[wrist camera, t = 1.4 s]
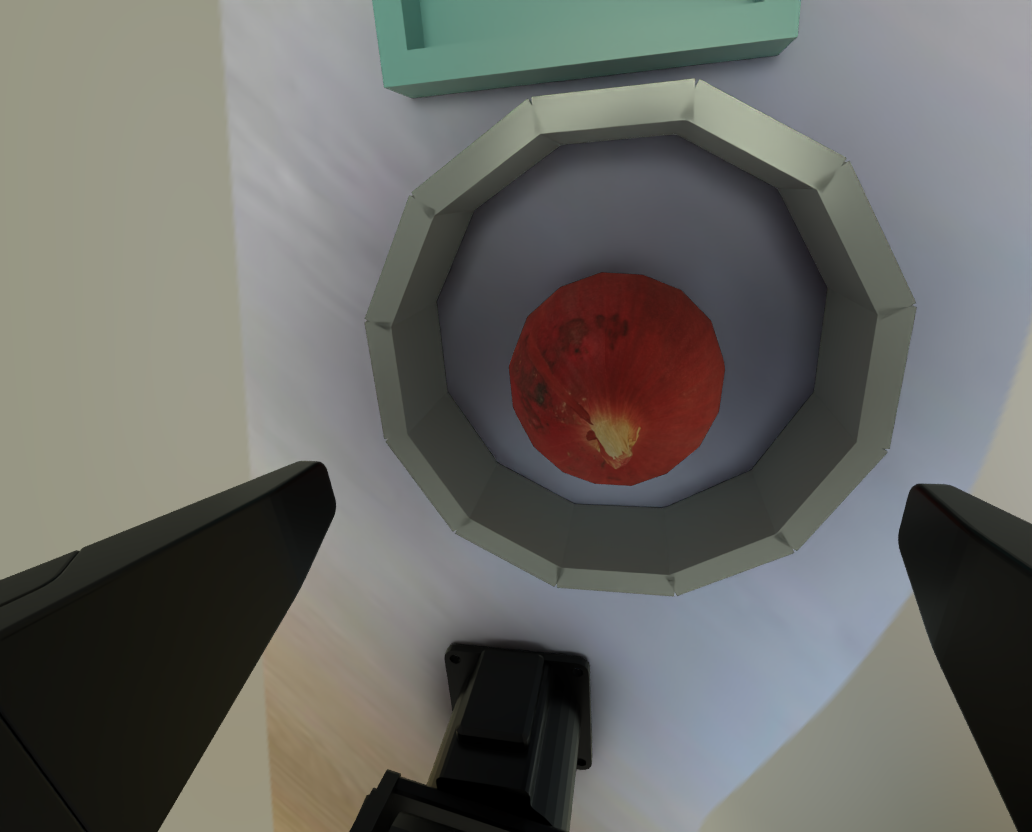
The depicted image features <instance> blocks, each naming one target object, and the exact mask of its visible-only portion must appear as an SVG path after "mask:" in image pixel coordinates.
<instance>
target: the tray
mask: <svg viewBox="0 0 1032 832" xmlns="http://www.w3.org/2000/svg"><path fill="white" fill-rule="evenodd" d="M372 2H373V9H374V17H375V24H376V32H377V39H378V46H379V54H380V61H381V68H382V76H383V83H384V88H387V89H389V90H392V91H394V92H397V93H400V94H402V95H405V96H407V97H410V98H418V97H427V96H435V95H444V94H452V93H461V92H469V91H478V90H487V89H495V88H504V87H512V86H521V85H529V84H538V83H546V82H555V81H563V80H572V79H580V78H589V77H598V76H606V75H615V74H623V73H632V72H640V71H649V70H657V69H666V68H674V67H683V66H691V65H700V64H708V63H717V62H726V61H734V60H743V59H751V58H760V57H768V56H777V55H779V54H780V53H781V52H782V51H783V50H784V49H785V48H786V47H787V46H788V45H789V44H790V43H791V42H793V41H794V40H795V39H796V38H797V37H798V26H799V16H800V6H801V0H372Z"/></svg>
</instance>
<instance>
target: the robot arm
mask: <svg viewBox="0 0 1032 832" xmlns="http://www.w3.org/2000/svg"><path fill="white" fill-rule="evenodd" d="M335 511H336V500H335V496H334V493H333V489H332V486H331V482H330V478H329V475H328V471H327V468H326V467H325V465H324V464H323V463H321V462H317V461H298V462H296V463H293V464H291V465H288V466H286V467H283V468H281V469H278V470H276V471H273V472H271V473H268V474H266V475H263V476H261V477H258V478H256V479H253V480H251V481H248V482H246V483H243V484H241V485H238V486H236V487H233V488H231V489H228V490H226V491H223V492H221V493H218V494H216V495H213V496H211V497H208V498H206V499H203V500H201V501H198V502H196V503H193V504H191V505H188V506H186V507H183V508H181V509H178V510H176V511H173V512H171V513H169V514H166V515H163V516H161V517H158V518H156V519H154V520H151V521H148V522H146V523H143V524H141V525H139V526H136V527H133V528H131V529H128V530H126V531H123V532H121V533H118V534H116V535H114V536H111V537H109V538H106V539H104V540H101V541H98V542H96V543H93V544H91V545H89V546H86V547H84V548H82V549H81V550H80V551H77V550H76V551H73V552H71V553H68V554H66V555H63V556H61V557H59V558H56V559H53V560H51V561H48V562H46V563H43V564H40V565H38V566H36V567H33V568H30V569H28V570H25V571H23V572H20V573H17V574H15V575H12V576H10V577H7V578H5V579H2V580H0V832H158V830H159V828H160V827H161V825H162V823H163V822H164V820H165V818H166V817H167V815H168V813H169V812H170V810H171V808H172V807H173V805H174V803H175V801H176V800H177V798H178V796H179V795H180V793H181V791H182V790H183V788H184V786H185V784H186V783H187V781H188V779H189V778H190V776H191V774H192V773H193V771H194V769H195V768H196V766H197V764H198V762H199V761H200V759H201V757H202V756H203V754H204V752H205V751H206V749H207V747H208V745H209V744H210V742H211V740H212V739H213V737H214V735H215V734H216V732H217V730H218V728H219V727H220V725H221V723H222V722H223V720H224V718H225V717H226V715H227V713H228V711H229V710H230V708H231V706H232V705H233V703H234V701H235V699H236V698H237V696H238V694H239V693H240V691H241V689H242V688H243V686H244V684H245V683H246V681H247V679H248V677H249V676H250V674H251V672H252V671H253V669H254V667H255V666H256V663H257V662H258V660H259V659H260V657H261V655H262V654H263V652H264V650H265V649H266V647H267V645H268V643H269V642H270V640H271V638H272V637H273V635H274V633H275V632H276V630H277V628H278V627H279V625H280V623H281V621H282V620H283V618H284V616H285V615H286V613H287V611H288V610H289V608H290V606H291V604H292V603H293V601H294V599H295V597H296V596H297V594H298V592H299V590H300V588H301V586H302V584H303V582H304V580H305V578H306V576H307V574H308V572H309V570H310V568H311V565H312V563H313V561H314V559H315V557H316V554H317V552H318V550H319V548H320V546H321V544H322V541H323V539H324V537H325V535H326V533H327V531H328V528H329V526H330V524H331V522H332V520H333V517H334V515H335ZM898 543H899V549H900V552H901V555H902V558H903V561H904V564H905V568H906V571H907V574H908V577H909V580H910V583H911V586H912V589H913V592H914V595H915V598H916V601H917V604H918V607H919V610H920V613H921V616H922V619H923V622H924V625H925V629H926V632H927V634H928V637H929V640H930V643H931V645H932V648H933V650H934V653H935V655H936V657H937V660H938V662H939V664H940V667H941V669H942V671H943V673H944V675H945V677H946V679H947V681H948V684H949V686H950V688H951V690H952V692H953V694H954V696H955V698H956V701H957V703H958V705H959V707H960V709H961V711H962V714H963V716H964V718H965V720H966V722H967V724H968V726H969V729H970V731H971V733H972V735H973V737H974V739H975V741H976V744H977V746H978V748H979V750H980V752H981V754H982V756H983V758H984V760H985V763H986V765H987V767H988V769H989V771H990V773H991V776H992V777H993V780H994V782H995V784H996V786H997V788H998V790H999V793H1000V795H1001V797H1002V799H1003V801H1004V803H1005V805H1006V808H1007V810H1008V812H1009V814H1010V816H1011V818H1012V820H1013V823H1014V824H1015V827H1016V829H1017V831H1018V832H1032V524H1031V523H1029V522H1026V521H1024V520H1022V519H1020V518H1018V517H1016V516H1014V515H1012V514H1010V513H1007V512H1006V511H1004V510H1001V509H999V508H997V507H995V506H993V505H991V504H989V503H987V502H985V501H983V500H981V499H979V498H976V497H974V496H972V495H970V494H968V493H966V492H964V491H962V490H960V489H958V488H956V487H954V486H951V485H946V484H916V485H914V486H913V487H912V488H911V490H910V492H909V494H908V498H907V502H906V506H905V510H904V513H903V517H902V521H901V525H900V529H899V535H898ZM455 655H457V656H458V657H457V656H455ZM445 664H446V671H447V677H448V684H449V691H450V697H451V704H452V711H453V712H452V715H451V718H450V721H449V724H448V727H447V729H446V732H445V735H444V738H443V741H442V743H441V746H440V749H439V752H438V755H437V757H436V760H435V763H434V766H433V769H432V771H431V774H430V777H429V780H428V783H427V785H425V784H422V783H419V782H416V781H413V780H410V779H406V778H403V777H401V774H400V773H397V772H394V771H391V770H388V769H387V771H386V772H385V774H384V776H383V778H382V780H381V782H380V783H379V785H378V787H377V789H376V788H373V789H372V791H371V793H370V794H369V795H367V796H366V798H365V800H364V802H363V805H362V807H361V809H360V811H359V814H358V816H357V818H356V820H355V822H354V824H353V826H352V828H351V830H350V831H349V832H569V829H570V820H571V811H572V802H573V793H574V784H575V775H576V769H579V770H586V769H589V768H590V767H591V764H592V729H591V693H590V665H589V663H588V661H587V660H586V659H584V658H583V657H579V656H570V655H560V654H550V653H540V652H531V651H521V650H511V649H501V648H491V647H481V646H471V645H461V644H452V645H450V646H449V647H448V649H447V651H446V654H445ZM575 668H580V670H578V669H575Z"/></svg>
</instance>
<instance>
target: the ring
mask: <svg viewBox="0 0 1032 832" xmlns="http://www.w3.org/2000/svg"><path fill="white" fill-rule="evenodd" d="M672 134H677V135H678V136H680V137H682V138H684V139H686V140H688V141H690V142H691V143H693V144H695V145H697V146H699V147H701V148H703V149H705V150H706V151H708V152H710V153H712V154H714V155H716V156H718V157H719V158H721V159H723V160H725V161H727V162H729V163H731V164H732V165H734V166H736V167H738V168H740V169H742V170H744V171H746V172H747V173H749V174H751V175H753V176H755V177H757V178H759V179H760V180H762V181H764V182H766V183H768V184H770V185H772V186H774V187H775V188H777V189H778V190H779V192H780V194H781V196H782V198H783V200H784V202H785V204H786V206H787V208H788V210H789V212H790V214H791V216H792V218H793V220H794V222H795V224H796V226H797V228H798V230H799V232H800V234H801V236H802V238H803V240H804V242H805V244H806V246H807V248H808V250H809V252H810V254H811V256H812V258H813V260H814V262H815V264H816V266H817V268H818V270H819V272H820V274H821V276H822V278H823V280H824V282H825V284H826V286H827V295H826V303H825V310H824V318H823V325H822V333H821V341H820V348H819V356H818V363H817V371H816V379H815V386H814V392H813V393H812V395H811V396H810V397H809V399H808V400H807V401H806V402H805V404H804V405H803V406H802V407H801V409H800V410H799V411H798V412H797V414H796V415H795V416H794V417H793V419H792V420H791V421H790V422H789V424H788V425H787V426H786V427H785V429H784V430H783V431H782V432H781V434H780V435H779V436H778V437H777V439H776V440H775V441H774V442H773V444H772V445H771V446H770V447H769V449H768V450H767V451H766V452H765V454H764V455H763V456H762V457H761V459H760V460H759V461H758V462H757V464H756V465H755V466H754V467H753V469H752V470H750V471H748V472H746V473H744V474H741V475H739V476H737V477H734V478H732V479H730V480H727V481H725V482H723V483H721V484H718V485H716V486H714V487H711V488H709V489H707V490H705V491H702V492H700V493H698V494H695V495H693V496H691V497H688V498H686V499H684V500H682V501H679V502H677V503H675V504H672V505H670V506H668V507H665V508H653V507H630V506H607V505H584V504H573V503H571V502H570V501H568V500H566V499H564V498H562V497H560V496H558V495H556V494H555V493H553V492H551V491H549V490H547V489H545V488H543V487H542V486H540V485H538V484H536V483H534V482H532V481H530V480H529V479H527V478H525V477H523V476H521V475H519V474H517V473H515V472H514V471H512V470H510V469H508V468H506V467H504V466H502V465H501V464H499V463H497V461H496V460H495V459H494V457H493V456H492V454H491V453H490V451H489V450H488V449H487V447H486V446H485V444H484V443H483V441H482V440H481V439H480V437H479V436H478V434H477V433H476V431H475V430H474V429H473V427H472V426H471V424H470V423H469V422H468V420H467V419H466V417H465V416H464V414H463V413H462V412H461V410H460V409H459V407H458V406H457V404H456V403H455V402H454V400H453V399H452V397H451V396H450V394H449V393H448V392H447V384H446V375H445V367H444V359H443V350H442V342H441V334H440V326H439V317H438V309H437V299H438V297H439V294H440V292H441V289H442V287H443V285H444V282H445V280H446V277H447V275H448V273H449V270H450V268H451V265H452V263H453V261H454V258H455V256H456V253H457V251H458V249H459V246H460V244H461V241H462V239H463V237H464V234H465V232H466V229H467V227H468V225H469V222H470V220H471V217H472V215H473V213H474V210H475V209H477V208H478V207H479V206H481V205H482V204H483V203H485V202H486V201H487V200H489V199H490V198H491V197H493V196H494V195H495V194H497V193H498V192H499V191H501V190H502V189H503V188H505V187H506V186H507V185H509V184H510V183H511V182H513V181H514V180H515V179H516V178H518V177H519V176H520V175H522V174H523V173H524V172H526V171H527V170H528V169H530V168H531V167H532V166H534V165H535V164H536V163H538V162H539V161H540V160H542V159H543V158H544V157H546V156H547V155H548V154H550V153H551V152H552V151H554V150H555V149H556V148H558V147H559V146H560V145H565V144H576V143H586V142H597V141H608V140H619V139H629V138H640V137H651V136H662V135H672ZM845 160H846V157H844V156H842V155H840V154H838V153H836V152H834V151H833V150H831V149H829V148H827V147H825V146H823V145H821V144H820V143H818V142H816V141H814V140H812V139H810V138H808V137H806V136H805V135H803V134H801V133H799V132H797V131H795V130H793V129H792V128H790V127H788V126H786V125H784V124H782V123H780V122H778V121H777V120H775V119H773V118H771V117H769V116H767V115H765V114H764V113H762V112H760V111H758V110H756V109H754V108H752V107H750V106H749V105H747V104H745V103H743V102H741V101H739V100H737V99H736V98H734V97H732V96H730V95H728V94H726V93H724V92H722V91H721V90H719V89H717V88H715V87H713V86H711V85H709V84H708V83H706V82H704V81H702V80H699V82H698V83H697V85H696V87H695V79H686V80H677V81H668V82H659V83H650V84H642V85H633V86H624V87H615V88H606V89H597V90H588V91H579V92H570V93H561V94H553V95H544V96H535V97H532V102H531V101H530V100H529V99H526V100H525V101H524V102H523V103H521V104H520V105H519V106H518V107H517V108H515V109H514V110H513V111H512V112H510V113H509V114H508V115H507V116H505V117H504V118H503V119H502V120H500V121H499V122H498V123H497V124H496V125H494V126H493V127H492V128H491V129H489V130H488V131H487V132H486V133H484V134H483V135H482V136H481V137H479V138H478V139H477V140H476V141H475V142H473V143H472V144H471V145H470V146H468V147H467V148H466V149H465V150H463V151H462V152H461V153H460V154H458V155H457V156H456V157H455V158H453V159H452V160H451V161H450V162H449V163H447V164H446V165H445V166H444V167H442V168H441V169H440V170H439V171H437V172H436V173H435V174H434V175H432V176H431V177H430V178H429V179H428V180H426V181H425V182H424V183H423V184H421V185H420V186H419V187H418V188H416V189H415V190H414V191H413V192H411V193H412V194H413V196H409V198H408V200H407V203H406V206H405V209H404V212H403V214H402V217H401V220H400V223H399V225H398V228H397V231H396V234H395V237H394V239H393V242H392V245H391V248H390V250H389V253H388V256H387V259H386V261H385V264H384V267H383V270H382V273H381V275H380V278H379V281H378V284H377V286H376V289H375V292H374V295H373V298H372V300H371V303H370V306H369V309H368V311H367V314H366V317H365V319H366V320H368V321H366V322H365V328H366V334H367V340H368V346H369V352H370V358H371V364H372V369H373V375H374V381H375V387H376V393H377V399H378V405H379V411H380V416H381V422H382V428H383V434H384V439H388V440H387V441H386V443H387V444H388V446H389V447H390V448H391V450H392V451H393V452H394V454H395V455H396V456H397V458H398V459H399V460H400V462H401V463H402V464H403V466H404V467H405V468H406V470H407V471H408V472H409V474H410V475H411V476H412V478H413V479H414V480H415V482H416V483H417V484H418V486H419V487H420V488H421V490H422V491H423V492H424V494H425V495H426V496H427V498H428V499H429V500H430V502H431V503H432V504H433V506H434V507H435V508H436V510H437V511H438V512H439V514H440V515H441V516H442V518H443V519H444V520H445V522H446V523H447V524H448V526H449V527H450V528H451V530H452V531H455V530H457V531H456V533H455V534H457V535H459V536H461V537H462V538H464V539H466V540H468V541H470V542H472V543H474V544H476V545H477V546H479V547H481V548H483V549H485V550H487V551H489V552H490V553H492V554H494V555H496V556H498V557H500V558H502V559H503V560H505V561H507V562H509V563H511V564H513V565H515V566H517V567H518V568H520V569H522V570H524V571H526V572H528V573H530V574H531V575H533V576H535V577H537V578H539V579H541V580H543V581H544V582H546V583H548V584H550V585H552V586H555V585H556V584H557V588H568V589H582V590H595V591H608V592H622V593H635V594H648V595H661V596H674V592H675V593H676V595H677V596H679V595H681V594H684V593H687V592H689V591H692V590H695V589H698V588H700V587H703V586H706V585H708V584H711V583H714V582H717V581H719V580H722V579H725V578H727V577H730V576H733V575H736V574H738V573H741V572H744V571H746V570H749V569H752V568H755V567H757V566H760V565H763V564H765V563H768V562H771V561H774V560H776V559H779V558H782V557H784V556H787V555H790V554H793V553H794V551H793V549H794V550H796V551H798V549H799V548H800V547H801V546H802V545H803V544H804V543H805V542H806V541H807V540H808V539H809V538H810V536H811V535H812V534H813V533H814V532H815V531H816V530H817V529H818V528H819V527H820V526H821V524H822V523H823V522H824V521H825V520H826V519H827V518H828V517H829V516H830V515H831V514H832V512H833V511H834V510H835V509H836V508H837V507H838V506H839V505H840V504H841V503H842V502H843V500H844V499H845V498H846V497H847V496H848V495H849V494H850V493H851V492H852V491H853V490H854V488H855V487H856V486H857V485H858V484H859V483H860V482H861V481H862V480H863V479H864V478H865V476H866V475H867V474H868V473H869V472H870V471H871V470H872V469H873V468H874V467H875V466H876V464H877V463H878V462H879V461H880V460H881V459H882V458H883V457H884V456H885V455H886V454H887V453H888V452H887V451H886V450H885V449H890V444H891V438H892V433H893V428H894V423H895V417H896V412H897V407H898V402H899V397H900V391H901V386H902V381H903V376H904V370H905V365H906V360H907V355H908V350H909V344H910V339H911V334H912V329H913V323H914V318H915V313H916V308H917V307H915V306H913V304H915V303H916V302H915V300H914V297H913V295H912V293H911V291H910V289H909V287H908V285H907V282H906V280H905V278H904V276H903V274H902V272H901V270H900V268H899V265H898V263H897V261H896V259H895V257H894V255H893V253H892V250H891V248H890V246H889V244H888V242H887V240H886V238H885V236H884V233H883V231H882V229H881V227H880V225H879V223H878V221H877V218H876V216H875V214H874V212H873V210H872V208H871V206H870V203H869V201H868V199H867V197H866V195H865V193H864V191H863V189H862V186H861V184H860V182H859V180H858V178H857V176H856V174H855V171H854V169H853V167H852V165H851V163H850V161H848V162H844V161H845ZM792 548H793V549H792Z"/></svg>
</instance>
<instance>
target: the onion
mask: <svg viewBox="0 0 1032 832" xmlns="http://www.w3.org/2000/svg"><path fill="white" fill-rule="evenodd" d="M724 372H725V366H724V360H723V357H722V354H721V350H720V347H719V344H718V341H717V338H716V335H715V332H714V328H713V325H712V322H711V320H710V319H709V318H708V317H707V316H706V315H705V314H704V313H703V312H702V311H701V310H700V309H699V308H698V307H697V306H696V305H695V304H694V303H693V302H692V301H691V300H690V299H689V298H688V297H687V296H686V295H685V294H684V293H683V292H682V290H680V289H677V288H675V287H672V286H670V285H667V284H665V283H662V282H660V281H657V280H655V279H652V278H650V277H647V276H645V275H639V274H621V273H604V272H601V273H598V274H595V275H593V276H590V277H587V278H584V279H581V280H579V281H576V282H573V283H570V284H568V285H565V286H562V287H560V288H559V289H558V290H556V291H555V292H554V293H553V294H552V295H551V296H550V297H549V298H548V299H547V300H545V301H544V302H543V303H542V304H541V305H540V306H539V307H538V308H537V309H535V310H534V311H533V312H532V313H531V314H530V315H529V316H528V317H527V319H526V322H525V324H524V327H523V329H522V332H521V334H520V337H519V340H518V342H517V345H516V347H515V350H514V352H513V355H512V358H511V361H510V365H509V373H510V383H511V393H512V402H513V408H514V410H515V413H516V415H517V417H518V419H519V421H520V422H521V424H522V426H523V428H524V430H525V432H526V433H527V435H528V437H529V439H530V441H531V443H532V444H533V446H534V447H535V448H536V449H537V450H538V451H539V452H540V453H541V454H543V455H544V456H545V457H546V458H547V459H548V460H550V461H551V462H552V463H553V464H554V465H555V466H557V467H558V468H559V469H560V470H561V471H562V472H564V473H567V474H570V475H572V476H575V477H578V478H581V479H583V480H586V481H589V482H592V483H594V484H609V485H626V486H632V485H635V484H638V483H641V482H644V481H647V480H649V479H652V478H655V477H658V476H661V475H664V474H667V473H668V472H669V471H670V470H671V469H673V468H674V467H675V466H676V465H678V464H679V463H680V462H681V461H683V460H684V459H685V458H686V457H687V456H689V455H690V454H691V453H692V452H694V451H695V450H696V449H697V448H698V447H699V446H700V445H701V443H702V441H703V439H704V438H705V436H706V434H707V432H708V430H709V429H710V427H711V425H712V423H713V421H714V420H715V418H716V416H717V414H718V412H719V407H720V400H721V393H722V386H723V379H724Z"/></svg>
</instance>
